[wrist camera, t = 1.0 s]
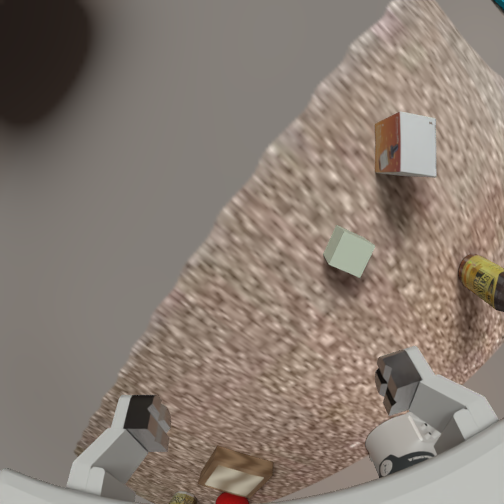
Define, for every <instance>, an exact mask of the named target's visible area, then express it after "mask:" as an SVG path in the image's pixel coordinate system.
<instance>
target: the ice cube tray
mask: <svg viewBox="0 0 504 504" xmlns="http://www.w3.org/2000/svg"><path fill="white" fill-rule="evenodd" d="M494 1H495V2H496V3H497V4H498V5H500V6H501V7H502V8H503V9H504V0H494Z"/></svg>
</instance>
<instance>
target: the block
mask: <svg viewBox="0 0 504 504" xmlns="http://www.w3.org/2000/svg"><path fill="white" fill-rule="evenodd" d="M374 248H375V245H374V244H372V243H371V242H370V241H368V240H367V239H365V238H364V237H362V236H360V235H357V234H355V233H353V232H351V231H349V230H347V229H345V228H342V227H340V226H338V225H336V227H335V229H334V231H333V234H332V236H331V238H330V240H329V243H328V245H327V247H326V249H325V251H324V253H323V255H324V257H325V258H326V260H327V262H328V264H329V265H331V266H333V267H336V268H338V269H340V270H343V271H345V272H347V273H350V274H352V275H354V276H357V277H359V278H360V277H361V275H362V273H363V271H364V269H365V267H366V265H367V263H368V261H369V258H370V256H371V254H372V252H373V250H374Z"/></svg>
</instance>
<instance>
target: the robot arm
mask: <svg viewBox="0 0 504 504" xmlns="http://www.w3.org/2000/svg"><path fill="white" fill-rule="evenodd" d="M377 365H378V367H379V368H378V369H377V370H376V372H375V383H376V387H377V390H378V392H379V394H380V395H382V396H384V401H383V404H384V406H385V409H386V411H387V413H388V415H389V416H391V415H394V414H397V413H400V412H403V411H406V410H409V411H410V412H408V413H406V414H404V415H401V416H398V417H395V418H392V419H390V420H387V421H386V422H384V423H382V424H381V425H379V426H378V427H376V428H375V429H374V430H373V431H372V432H371V433H370V434H369V436H368V437H367V439H366V443H365V445H366V449H367V450H368V452H369V453H370V454H369V458H370V460H371V461H373V463H374V465H375V468H376V470H377V473H378V475H379V479H375V480H372V481H369V482H366V483H362V484H359V485H356V486H352V487H348V488H345V489H341V490H337V491H333V492H329V493H324V494H319V495H314V496H309V497H305V498H299V499H292V500H286V501H279V502H271V503H262V504H504V418H502V419H501V420H498V418H497V416H496V414H495V413H494V411H493V409H492V408H491V406H490V405H489V403H488V401H487V400H486V398H485V397H484V396H482V395H480V394H478V393H476V392H474V391H472V390H470V389H468V388H466V387H463V386H462V385H460V384H458V383H456V382H453V381H451V380H449V379H447V378H445V377H443V376H441V375H439V374H437V375H435V374H434V372H433V371H432V369H431V368H430V366H429V365H428V363H427V361H426V360H425V358H424V357H423V355H422V354H421V352H420V351H419V349H418V347H416V346H412V347H409V348H406V349H404V350H399V351H396V352H393V353H390V354H387V355H384V356H381V357H379V358H378V361H377ZM161 402H162V399H161V398H160V397H159V395H122V396H121V397H120V398H119V401H118V404H117V408H116V411H115V415H114V419H113V422H112V426H111V428H108V429H107V430H106V431H105V432H103V433H102V434H101V435H100V436H99V437H98V438H97V439H96V440H95V441H94V442H93V443H92V444H91V445H90V446H89V447H88V448H87V449H86V450H85V451H84V452H83V453H82V454H81V455H80V456H79V457H78V458H77V459H76V460H75V461H74V462H73V464H72V468H71V471H70V475H69V479H68V483H67V487H66V488H64V487H61V486H57V485H54V484H51V483H48V482H45V481H42V480H38V479H36V478H33V477H30V476H27V475H25V474H22V473H20V472H17V471H14V470H12V469H9V468H5V469H3V470H1V471H0V504H147V503H139V502H135V495H136V493H135V492H134V490H132V489H131V488H129V487H128V486H126V485H125V483H126V482H127V481H128V479H129V478H130V477H131V475H132V474H133V473H134V471H135V470H136V469H137V467H138V466H139V465H140V463H141V462H142V461H143V459H144V458H145V457H146V455H147V454H148V452H168V444H169V436H168V435H167V434H166V433H167V432H168V430H169V429H170V428H171V416H170V413H169V410H168V408H167V407H166V406H164V405H163V404H161Z"/></svg>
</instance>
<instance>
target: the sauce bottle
mask: <svg viewBox="0 0 504 504" xmlns="http://www.w3.org/2000/svg"><path fill="white" fill-rule="evenodd" d="M459 278H460V280H461V282H462V283H463V285H464V286H465V287H467V288H468V289H469V290H471V291H472V292H473V293H475V294H476V295H477V296H479V297H480V298H481V299H483V300H484V301H485V302H486V303H488V304H489V305H490V306H492V307H493V308H494V309H496V310H498V311H502V312H504V268H502V267H500V266H498V265H496V264H495V263H493V262H491V261H489V260H487V259H485V258H484V257H482V256H478V255H476V254H470V255H468V256H466V257H465V258H464V259H463V260H462V262H461V264H460V267H459Z"/></svg>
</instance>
